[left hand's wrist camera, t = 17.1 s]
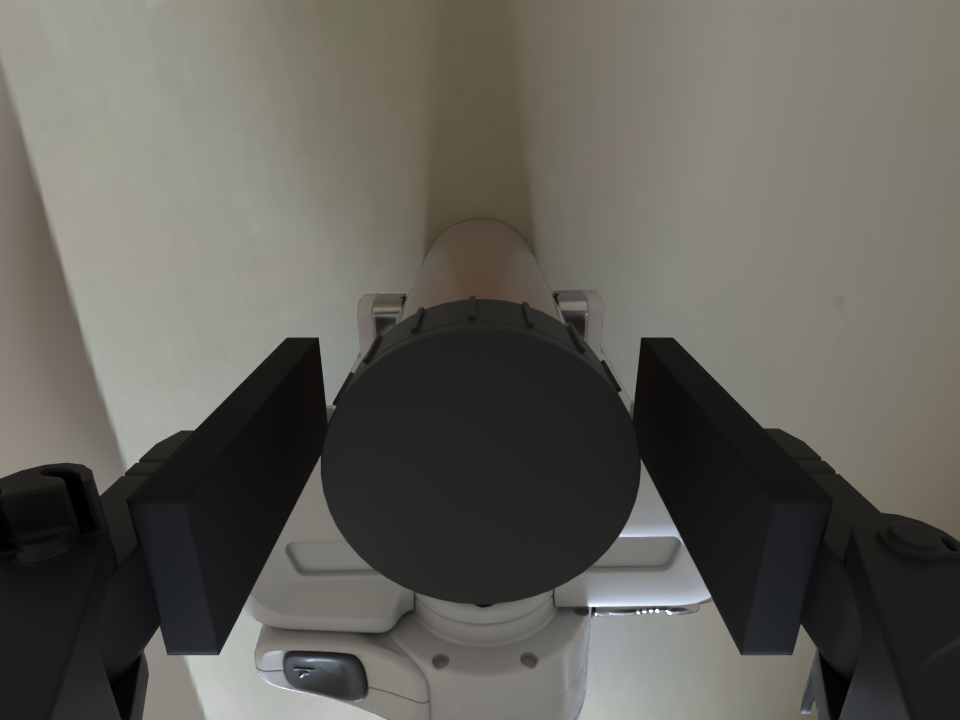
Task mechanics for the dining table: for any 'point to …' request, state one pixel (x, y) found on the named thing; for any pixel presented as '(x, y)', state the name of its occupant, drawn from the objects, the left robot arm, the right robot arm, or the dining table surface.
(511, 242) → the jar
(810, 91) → the dining table surface
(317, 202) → the dining table surface
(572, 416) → the lid
